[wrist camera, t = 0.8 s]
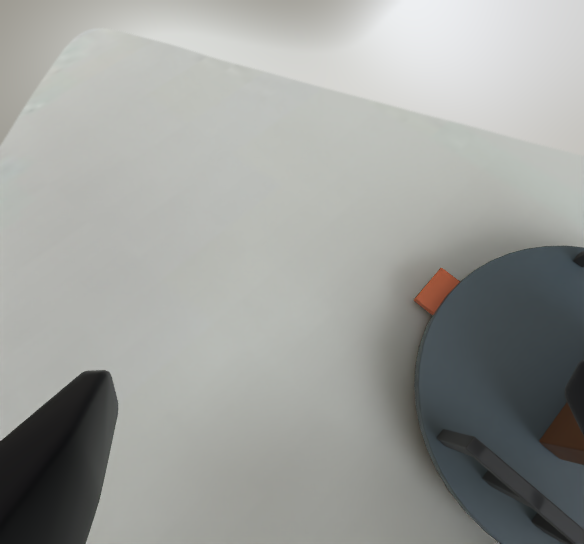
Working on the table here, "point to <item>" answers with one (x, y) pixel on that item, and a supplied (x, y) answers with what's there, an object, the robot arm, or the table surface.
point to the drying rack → (507, 392)
